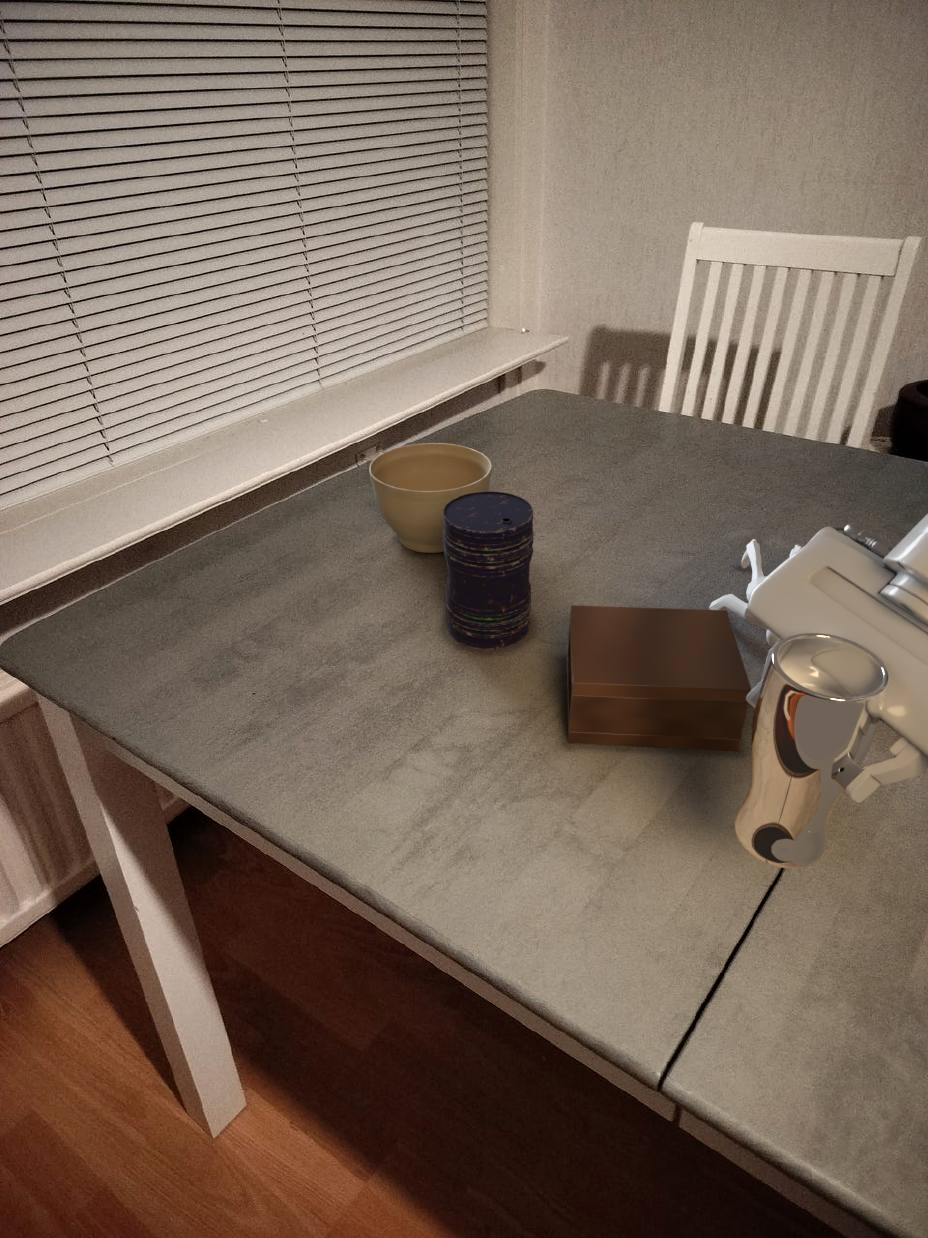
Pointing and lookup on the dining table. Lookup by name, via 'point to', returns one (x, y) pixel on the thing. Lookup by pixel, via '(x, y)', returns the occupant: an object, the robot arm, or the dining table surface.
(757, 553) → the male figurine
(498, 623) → the dark blue oil drum
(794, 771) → the beer glass
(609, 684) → the wooden keepsake box
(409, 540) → the planter bowl
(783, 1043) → the dining table surface
